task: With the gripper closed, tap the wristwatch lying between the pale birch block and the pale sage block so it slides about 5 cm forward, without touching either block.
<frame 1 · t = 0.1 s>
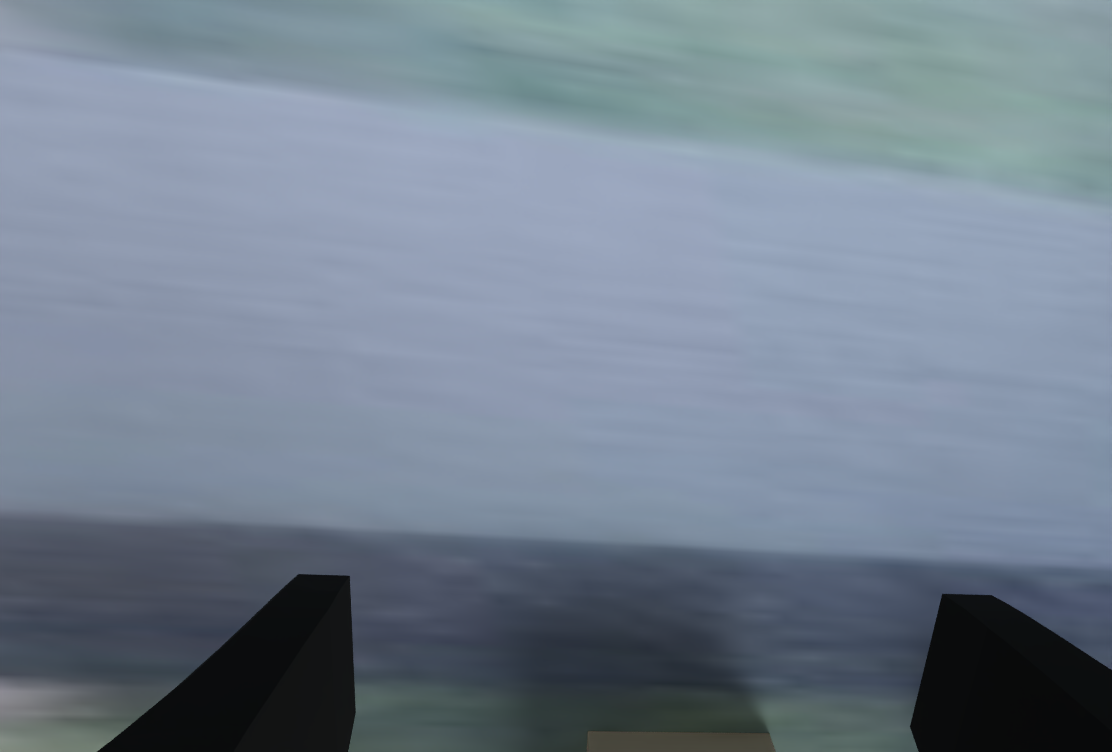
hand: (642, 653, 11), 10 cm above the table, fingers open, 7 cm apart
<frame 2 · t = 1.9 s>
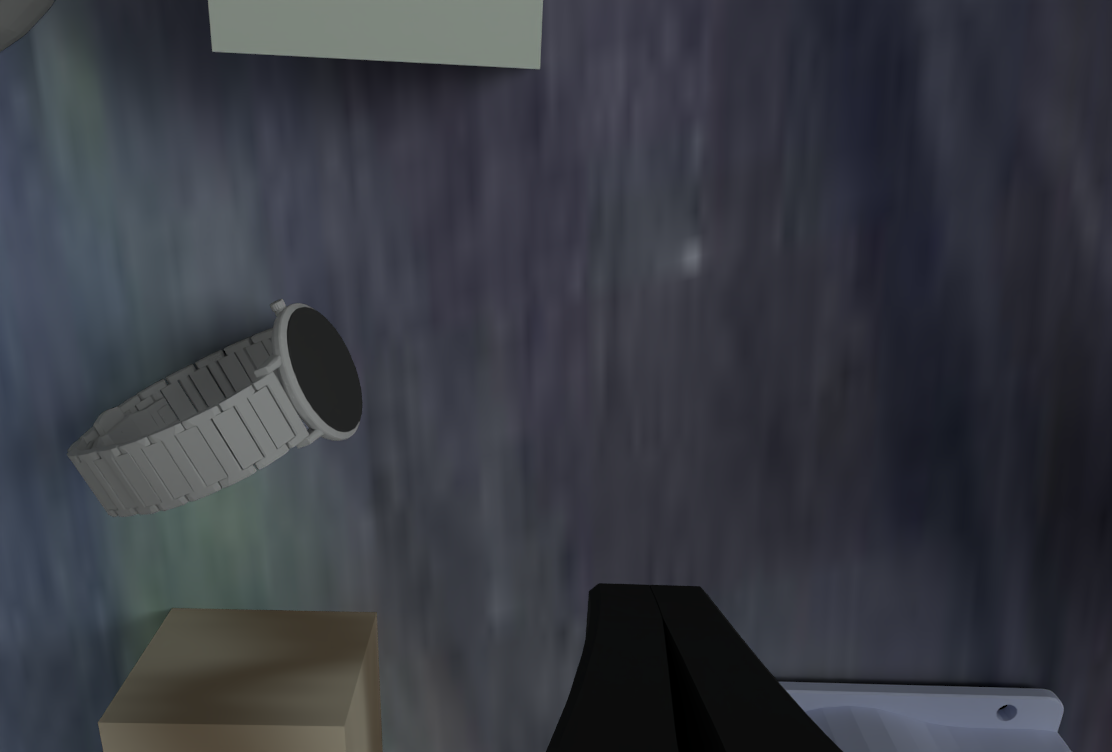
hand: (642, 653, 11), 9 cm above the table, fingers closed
birch block: (283, 688, 23), on the table
wristwatch: (258, 359, 19), on the table
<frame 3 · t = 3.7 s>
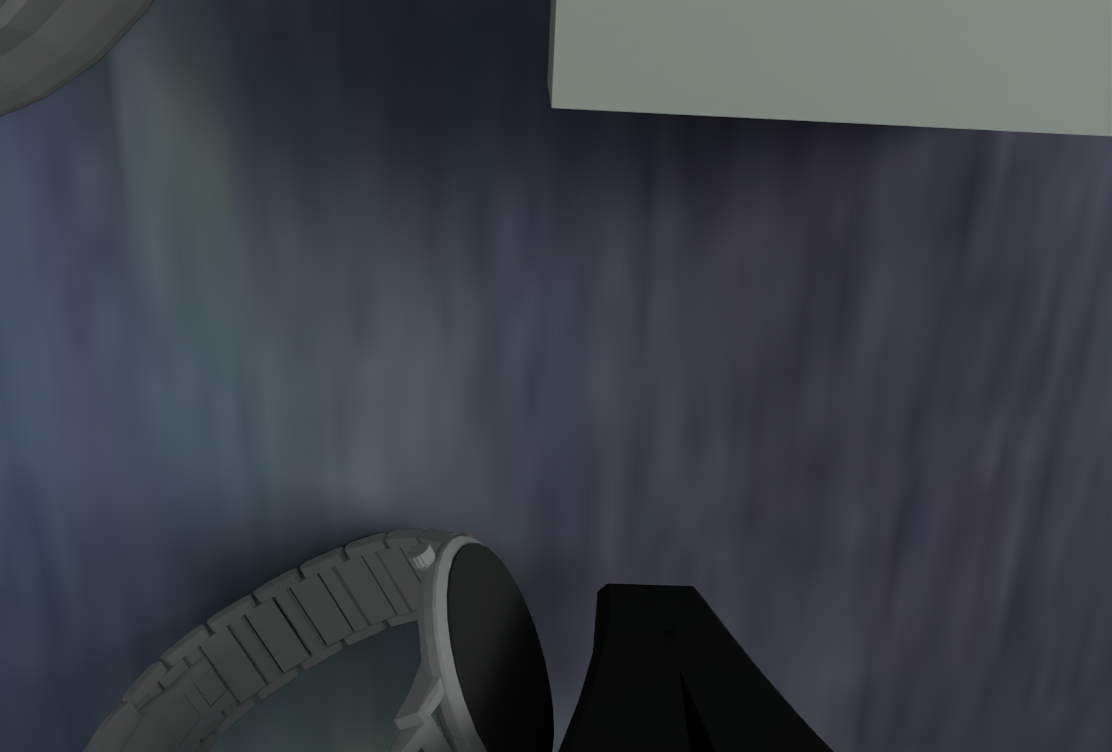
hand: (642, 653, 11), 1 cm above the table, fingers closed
wristwatch: (353, 576, 12), on the table, touching gripper
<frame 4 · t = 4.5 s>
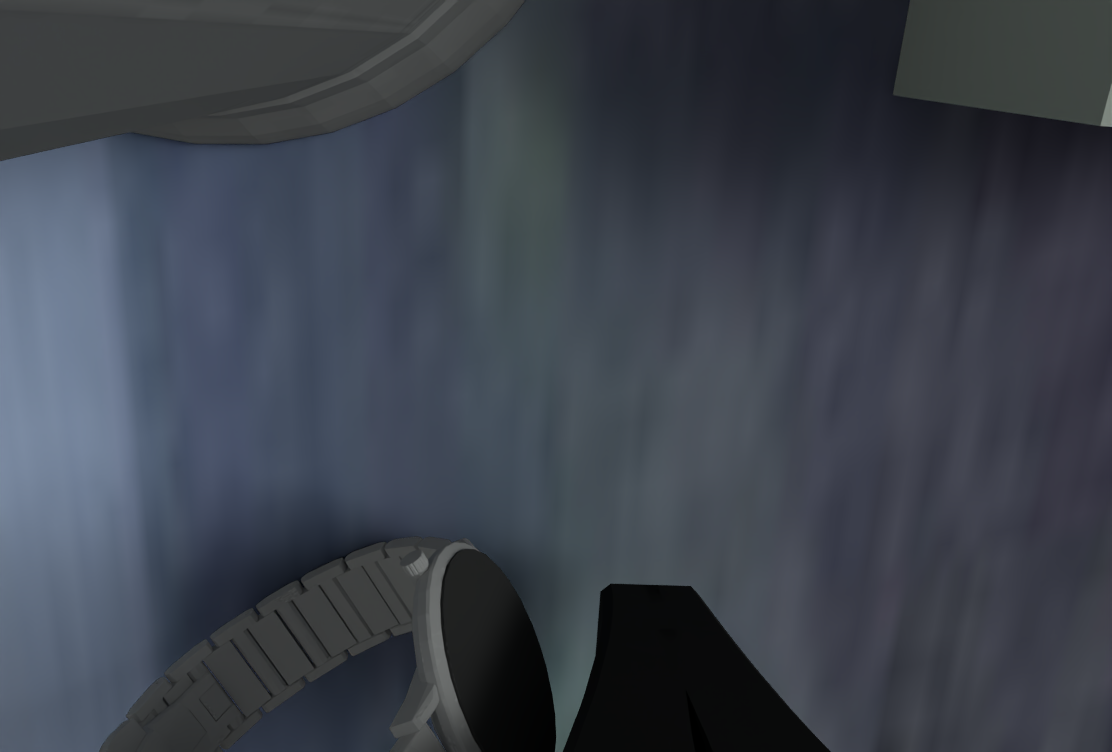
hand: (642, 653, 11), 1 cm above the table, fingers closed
wristwatch: (355, 586, 12), on the table, touching gripper
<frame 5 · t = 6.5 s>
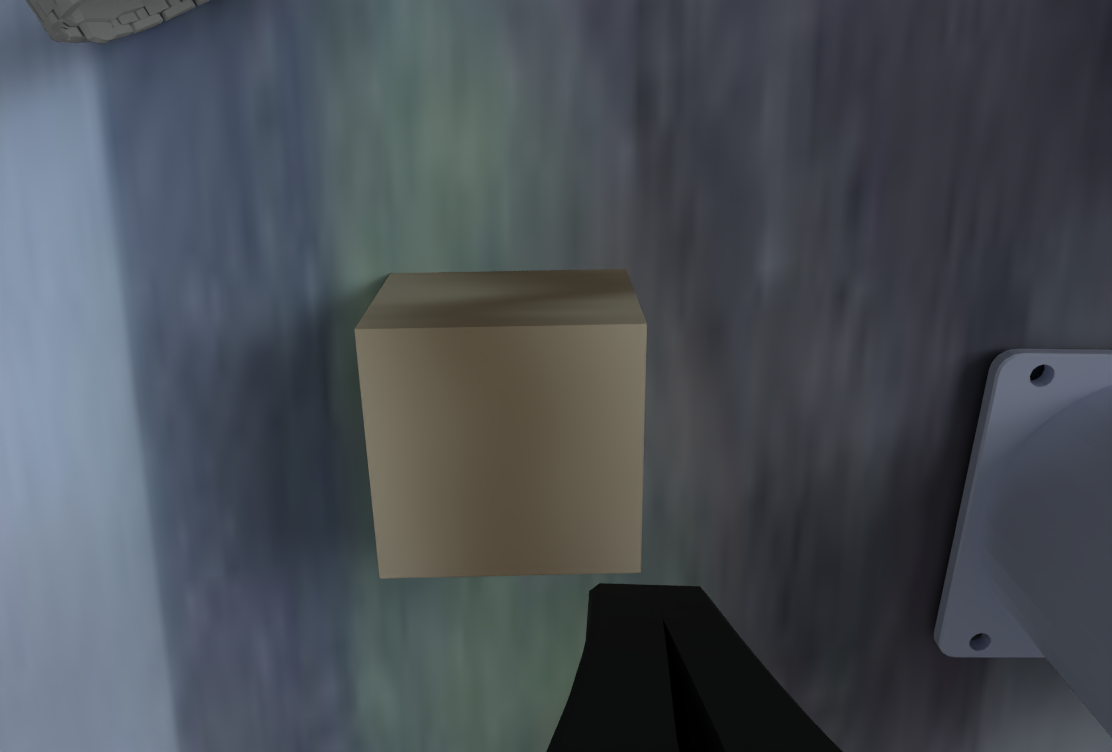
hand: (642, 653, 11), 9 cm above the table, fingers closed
birch block: (512, 378, 20), on the table
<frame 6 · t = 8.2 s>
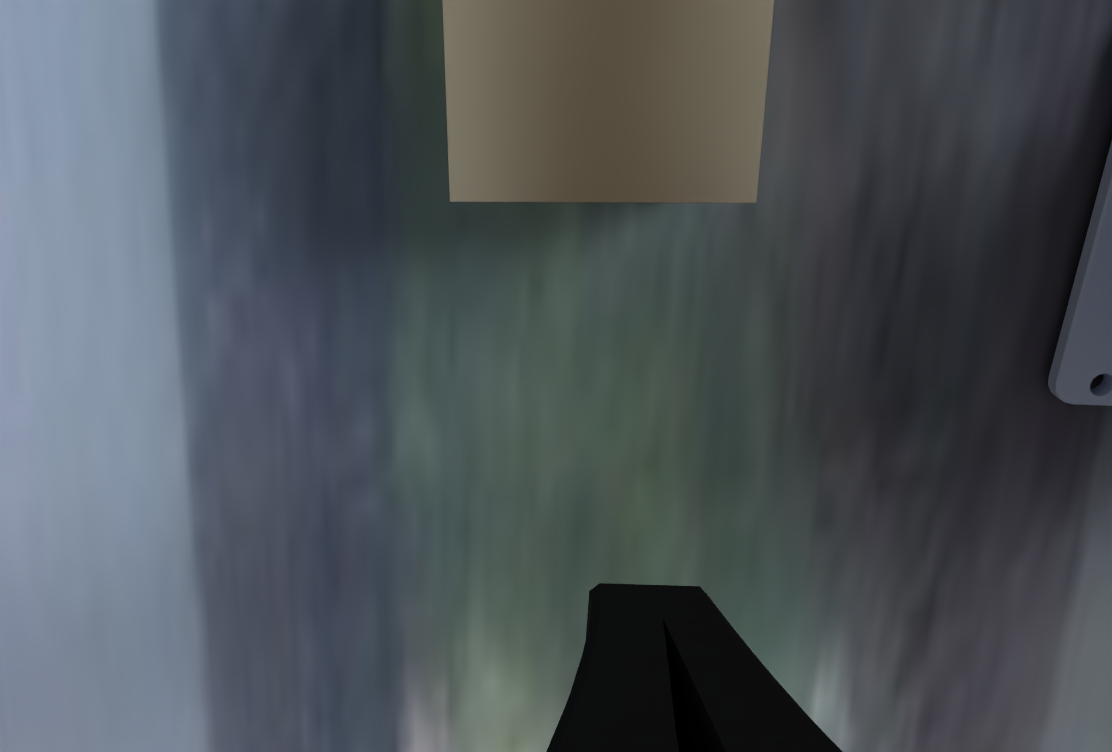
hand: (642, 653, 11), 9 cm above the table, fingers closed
birch block: (592, 38, 17), on the table
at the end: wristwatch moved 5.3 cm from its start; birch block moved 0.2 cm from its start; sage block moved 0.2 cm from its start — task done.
